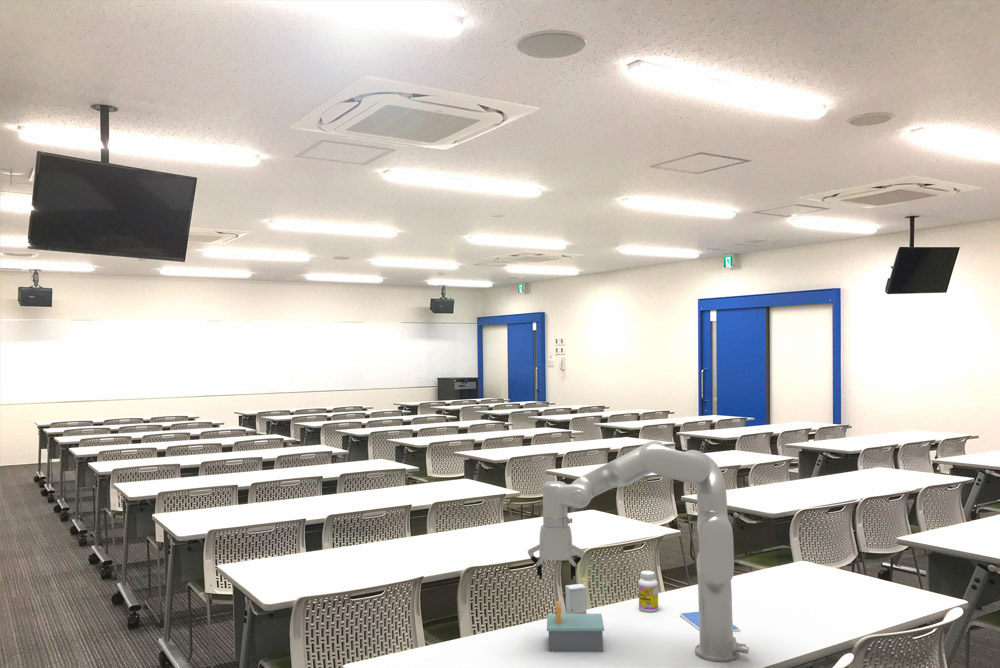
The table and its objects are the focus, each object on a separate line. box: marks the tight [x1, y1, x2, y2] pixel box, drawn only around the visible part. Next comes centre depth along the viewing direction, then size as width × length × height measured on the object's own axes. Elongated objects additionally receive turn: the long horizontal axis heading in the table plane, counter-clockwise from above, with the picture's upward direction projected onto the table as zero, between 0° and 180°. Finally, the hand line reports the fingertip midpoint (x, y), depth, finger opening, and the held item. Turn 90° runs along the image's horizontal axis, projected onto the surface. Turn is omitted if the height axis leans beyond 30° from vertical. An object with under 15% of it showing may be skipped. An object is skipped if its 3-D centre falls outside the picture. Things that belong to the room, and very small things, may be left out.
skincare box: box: [564, 583, 587, 614], centre depth 254 cm, size 6×4×12 cm
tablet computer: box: [679, 611, 741, 633], centre depth 250 cm, size 19×13×1 cm, turn 11°
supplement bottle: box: [638, 570, 659, 613], centre depth 265 cm, size 7×7×13 cm
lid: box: [546, 600, 605, 632], centre depth 233 cm, size 17×13×6 cm
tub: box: [548, 631, 604, 653], centre depth 233 cm, size 16×12×7 cm
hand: (556, 578), depth 234 cm, fingers open, 9 cm apart
